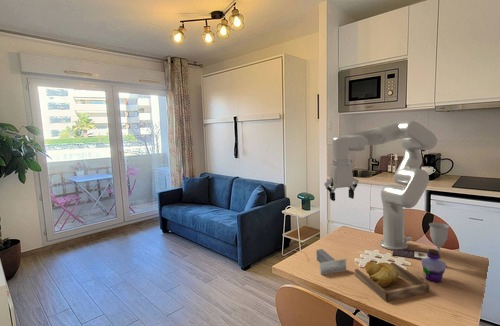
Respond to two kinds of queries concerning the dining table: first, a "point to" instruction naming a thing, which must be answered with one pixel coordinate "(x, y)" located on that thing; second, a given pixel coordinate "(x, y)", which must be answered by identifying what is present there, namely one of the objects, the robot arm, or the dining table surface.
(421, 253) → the chocolate bar
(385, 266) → the bread roll
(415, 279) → the walnut frame
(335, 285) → the dining table surface
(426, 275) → the potion bottle
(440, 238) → the chalice
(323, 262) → the grey t-shaped block
